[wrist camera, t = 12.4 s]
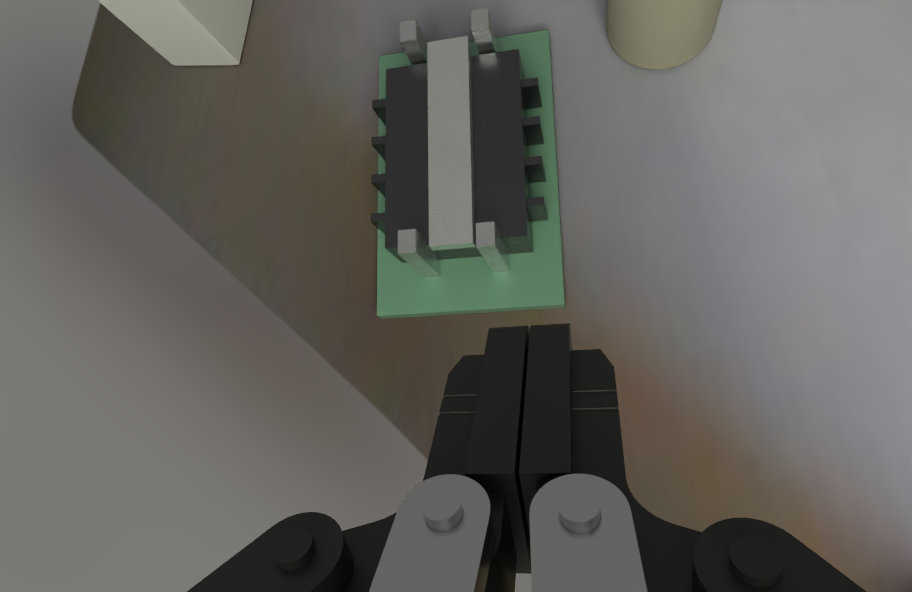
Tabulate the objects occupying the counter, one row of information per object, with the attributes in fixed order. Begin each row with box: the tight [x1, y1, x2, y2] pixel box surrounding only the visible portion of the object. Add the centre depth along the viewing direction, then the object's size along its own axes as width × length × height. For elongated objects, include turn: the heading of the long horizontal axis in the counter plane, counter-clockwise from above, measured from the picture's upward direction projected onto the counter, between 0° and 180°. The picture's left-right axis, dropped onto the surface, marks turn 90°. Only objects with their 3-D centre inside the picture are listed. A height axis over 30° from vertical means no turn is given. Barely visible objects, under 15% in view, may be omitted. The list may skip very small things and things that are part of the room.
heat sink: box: [371, 7, 548, 278], centre depth 45 cm, size 17×12×7 cm
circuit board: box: [377, 30, 565, 319], centre depth 48 cm, size 22×14×1 cm, turn 2°
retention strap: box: [427, 36, 476, 251], centre depth 43 cm, size 16×3×1 cm, turn 2°
